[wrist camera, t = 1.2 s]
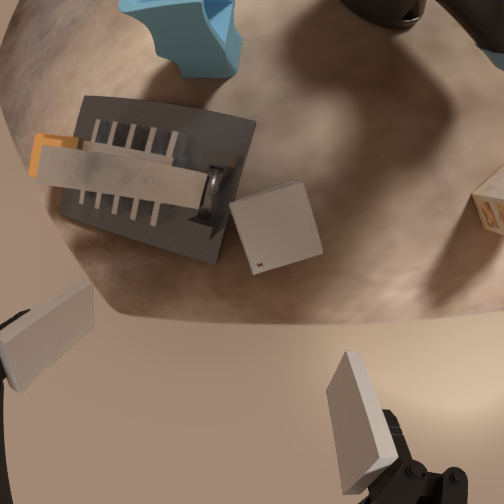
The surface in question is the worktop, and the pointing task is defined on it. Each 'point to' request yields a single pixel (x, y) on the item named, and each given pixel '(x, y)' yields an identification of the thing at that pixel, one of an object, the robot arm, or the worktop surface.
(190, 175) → the strap
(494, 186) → the coffeecake box
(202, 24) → the vase
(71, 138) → the lug slider
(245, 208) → the supplement box
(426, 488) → the robot arm
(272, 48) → the worktop surface
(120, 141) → the heatsink
